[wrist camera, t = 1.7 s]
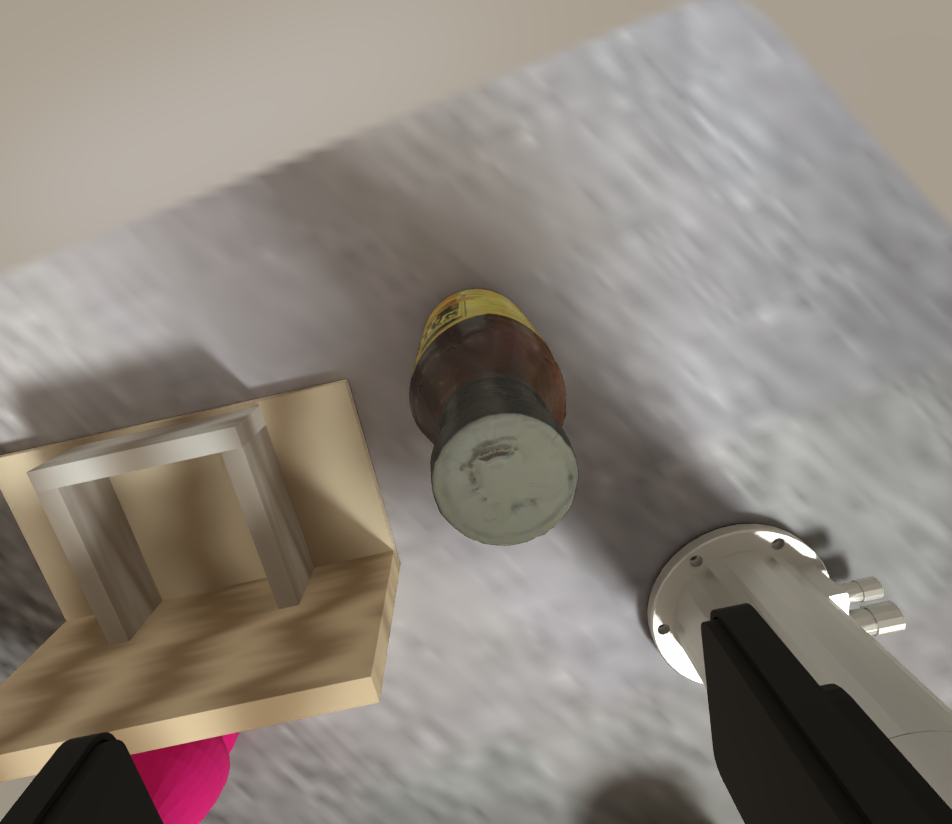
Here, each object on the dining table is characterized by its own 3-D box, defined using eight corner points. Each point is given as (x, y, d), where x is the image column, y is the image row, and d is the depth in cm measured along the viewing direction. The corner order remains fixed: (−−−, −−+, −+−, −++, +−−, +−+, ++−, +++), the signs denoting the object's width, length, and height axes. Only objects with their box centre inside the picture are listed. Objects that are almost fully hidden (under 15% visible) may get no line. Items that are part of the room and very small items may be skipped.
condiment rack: (347, 378, 34) (296, 446, 23) (400, 563, 38) (379, 702, 26) (-4, 456, 35) (-229, 560, 23) (82, 631, 38) (-74, 797, 27)
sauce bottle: (436, 275, 33) (417, 317, 14) (539, 300, 33) (658, 374, 14) (412, 382, 35) (367, 551, 15) (511, 404, 35) (584, 593, 16)
